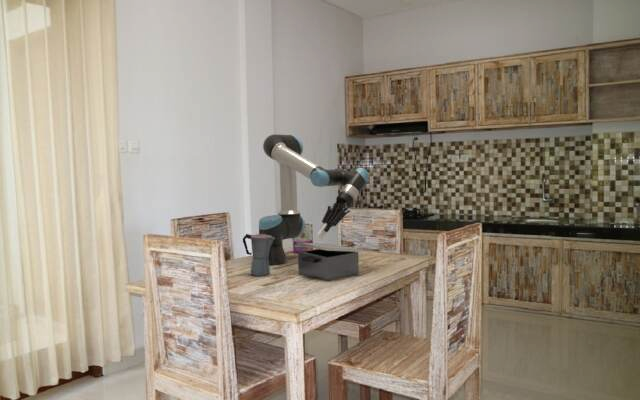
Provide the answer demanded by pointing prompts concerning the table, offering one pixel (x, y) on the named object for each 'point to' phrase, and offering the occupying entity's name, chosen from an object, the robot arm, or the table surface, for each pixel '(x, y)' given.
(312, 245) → the grey box lid
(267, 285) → the table surface
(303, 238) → the candy bar box
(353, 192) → the robot arm
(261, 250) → the moka pot
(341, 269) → the dark grey storage box
